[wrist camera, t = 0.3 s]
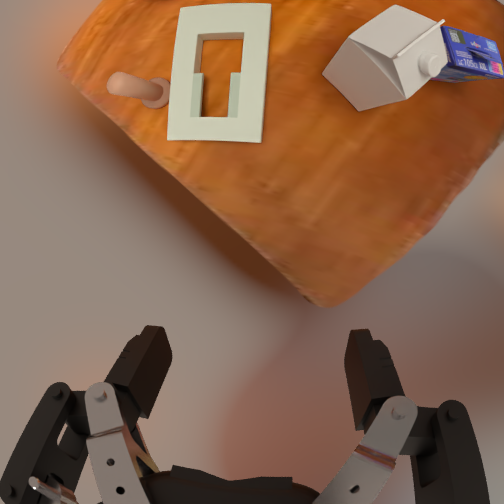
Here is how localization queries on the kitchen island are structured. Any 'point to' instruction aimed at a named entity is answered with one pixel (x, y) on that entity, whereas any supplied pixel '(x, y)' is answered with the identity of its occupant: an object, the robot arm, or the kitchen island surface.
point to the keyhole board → (241, 84)
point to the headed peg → (140, 89)
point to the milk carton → (388, 58)
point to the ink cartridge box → (469, 57)
